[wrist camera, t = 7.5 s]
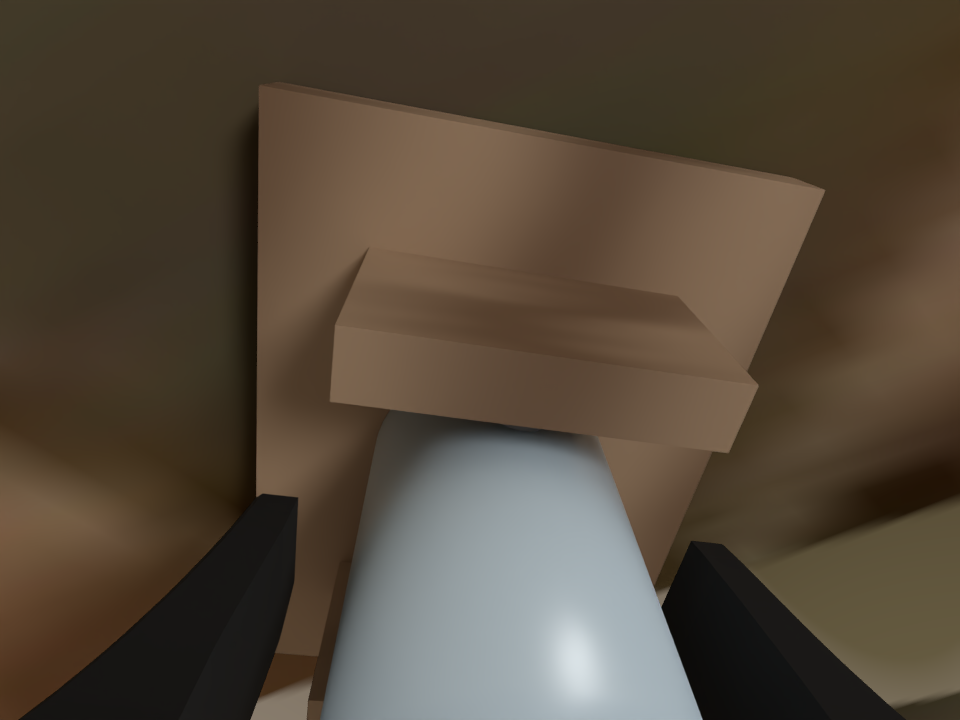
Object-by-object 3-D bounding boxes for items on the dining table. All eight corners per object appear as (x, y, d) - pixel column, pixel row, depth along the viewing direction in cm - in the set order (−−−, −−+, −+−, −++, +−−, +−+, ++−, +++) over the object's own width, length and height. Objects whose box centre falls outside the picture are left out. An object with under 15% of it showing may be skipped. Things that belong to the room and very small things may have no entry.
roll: (628, 384, 13) (798, 714, 6) (563, 556, 15) (643, 925, 9) (391, 343, 12) (322, 665, 6) (361, 529, 14) (287, 907, 8)
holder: (792, 177, 12) (974, 246, 8) (603, 643, 18) (647, 820, 14) (278, 81, 11) (165, 102, 7) (267, 613, 17) (206, 796, 13)
